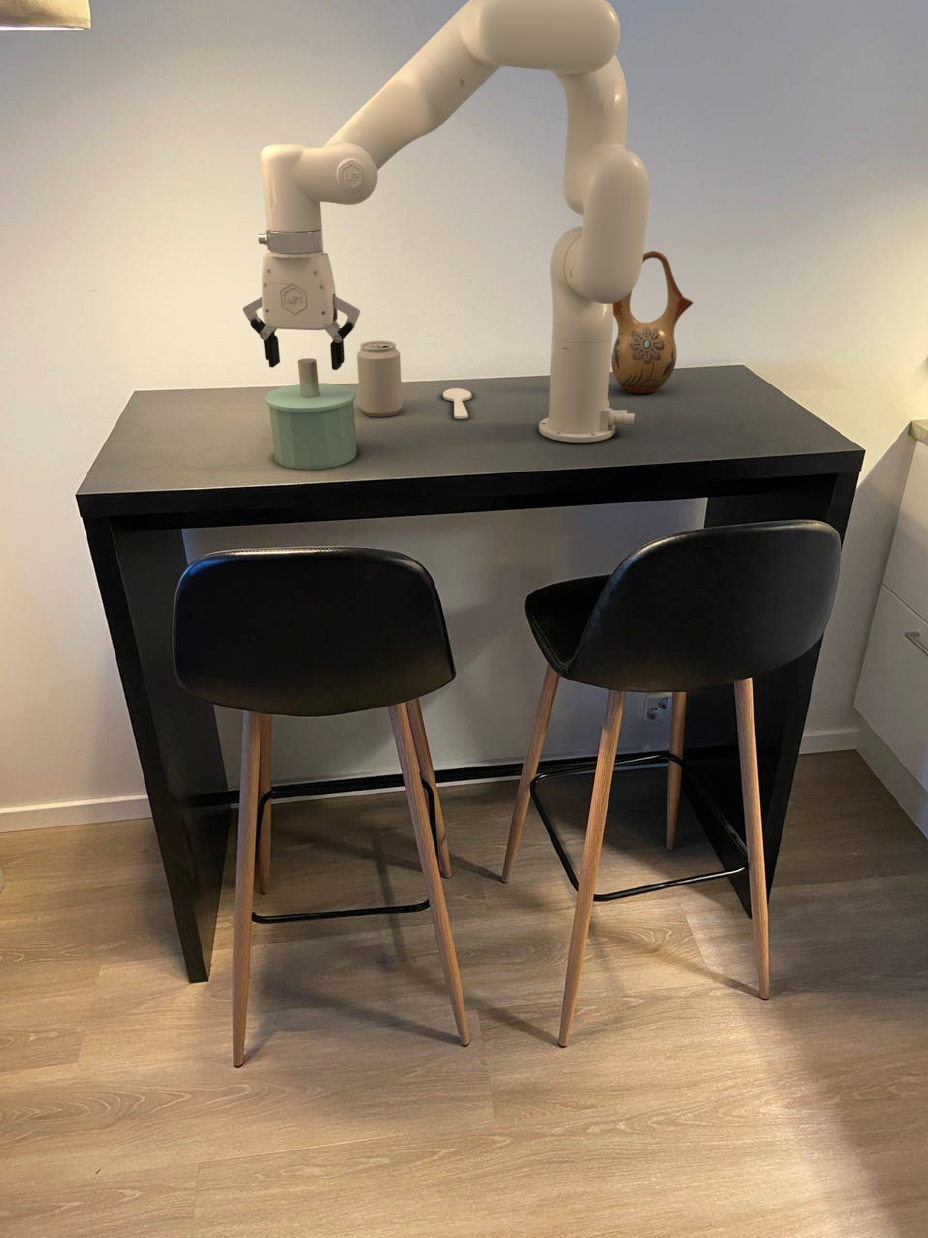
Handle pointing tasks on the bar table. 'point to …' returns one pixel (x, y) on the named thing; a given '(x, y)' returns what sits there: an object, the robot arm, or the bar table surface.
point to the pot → (314, 437)
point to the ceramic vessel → (647, 340)
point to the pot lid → (309, 392)
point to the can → (379, 378)
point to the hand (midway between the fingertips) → (305, 366)
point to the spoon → (458, 401)
